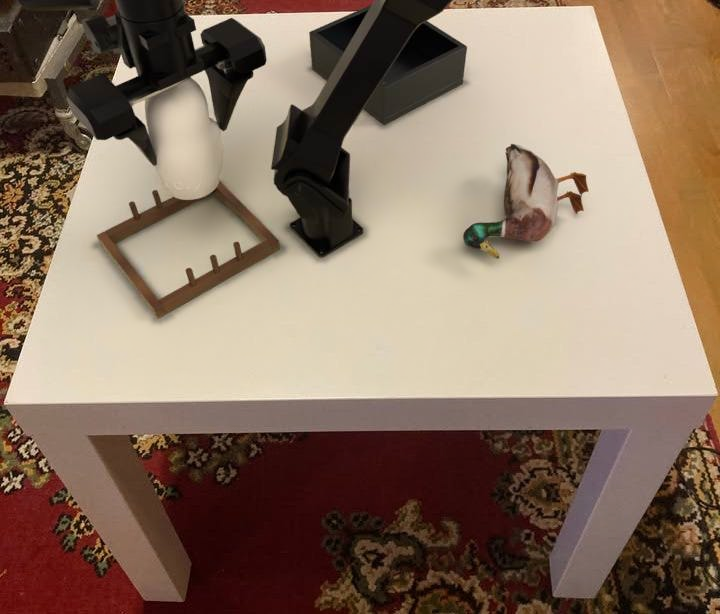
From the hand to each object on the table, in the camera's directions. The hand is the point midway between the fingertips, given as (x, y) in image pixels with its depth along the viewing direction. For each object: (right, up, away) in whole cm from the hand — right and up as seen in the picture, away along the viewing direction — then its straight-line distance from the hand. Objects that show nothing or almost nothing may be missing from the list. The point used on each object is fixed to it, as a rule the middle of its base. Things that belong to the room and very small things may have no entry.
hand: (188, 145), depth 75 cm
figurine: (0, -3, +3) cm, 4 cm away
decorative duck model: (+36, -6, +11) cm, 38 cm away
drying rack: (-2, -10, +9) cm, 13 cm away
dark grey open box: (+22, +16, +28) cm, 39 cm away
